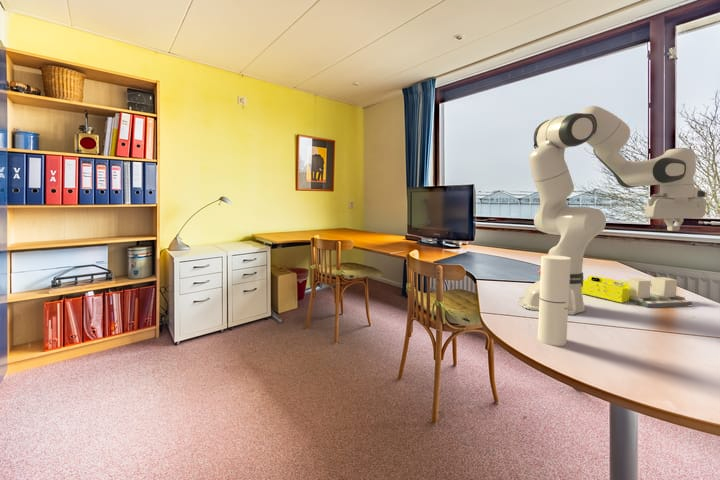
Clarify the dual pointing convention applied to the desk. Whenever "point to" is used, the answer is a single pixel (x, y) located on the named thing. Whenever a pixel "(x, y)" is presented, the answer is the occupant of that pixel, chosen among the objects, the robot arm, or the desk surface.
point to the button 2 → (664, 286)
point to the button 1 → (639, 287)
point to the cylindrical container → (554, 299)
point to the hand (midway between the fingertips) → (673, 230)
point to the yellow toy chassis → (606, 289)
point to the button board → (659, 301)
